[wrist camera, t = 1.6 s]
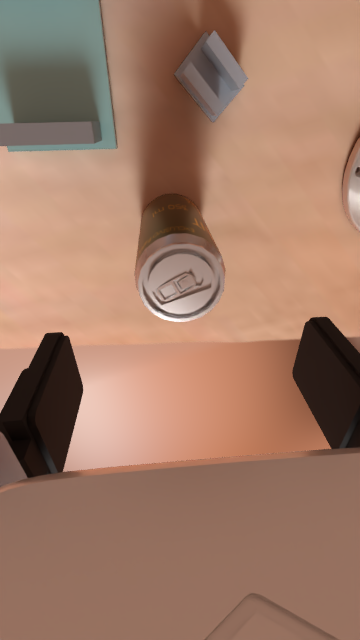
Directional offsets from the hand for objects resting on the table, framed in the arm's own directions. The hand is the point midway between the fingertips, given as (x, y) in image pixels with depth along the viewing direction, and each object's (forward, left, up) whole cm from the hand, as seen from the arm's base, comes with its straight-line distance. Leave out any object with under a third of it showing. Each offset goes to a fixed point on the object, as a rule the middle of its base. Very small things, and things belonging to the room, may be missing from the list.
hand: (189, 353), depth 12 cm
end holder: (+8, -11, -18) cm, 22 cm away
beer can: (0, 0, -18) cm, 18 cm away
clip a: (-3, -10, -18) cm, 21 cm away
